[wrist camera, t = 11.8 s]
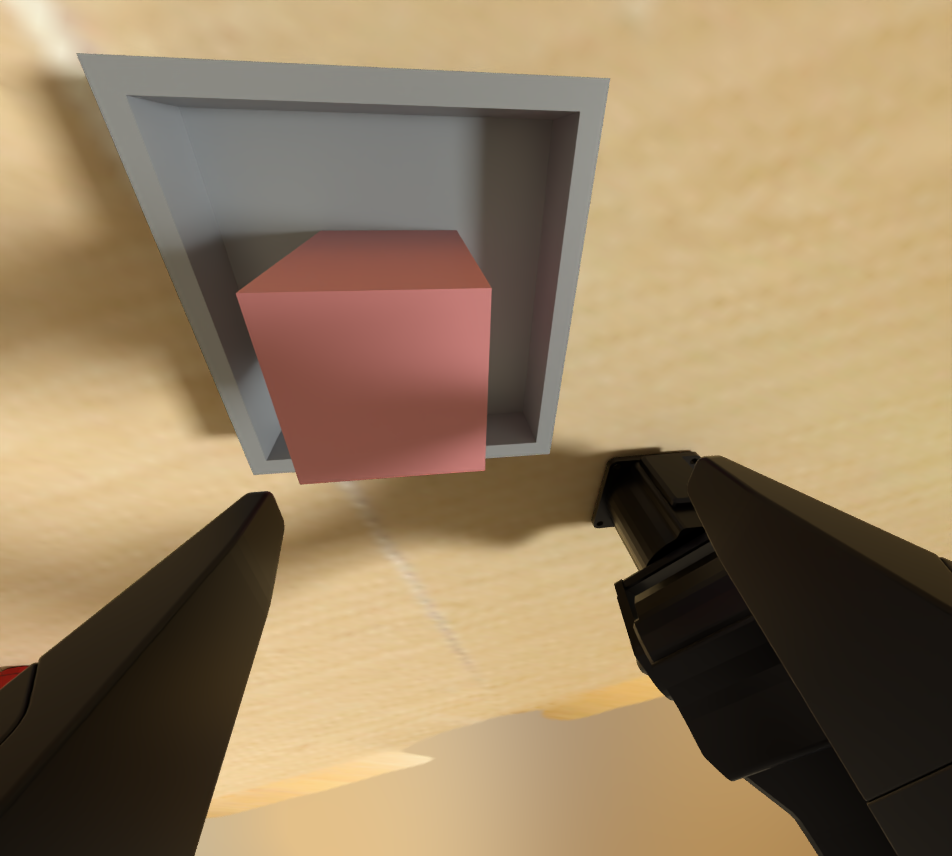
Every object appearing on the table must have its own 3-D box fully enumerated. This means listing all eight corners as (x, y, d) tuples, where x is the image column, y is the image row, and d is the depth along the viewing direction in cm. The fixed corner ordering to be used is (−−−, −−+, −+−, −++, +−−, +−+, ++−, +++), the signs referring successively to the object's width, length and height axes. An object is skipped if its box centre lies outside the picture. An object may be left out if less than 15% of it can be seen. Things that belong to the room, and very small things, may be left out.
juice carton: (458, 352, 19) (484, 470, 12) (345, 356, 19) (300, 484, 11) (456, 230, 16) (491, 288, 9) (320, 230, 15) (235, 293, 8)
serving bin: (532, 417, 23) (549, 453, 20) (275, 432, 21) (253, 474, 18) (571, 94, 14) (610, 78, 12) (151, 77, 13) (76, 53, 10)
